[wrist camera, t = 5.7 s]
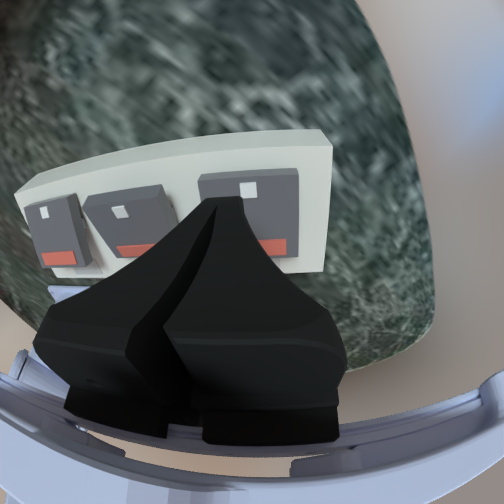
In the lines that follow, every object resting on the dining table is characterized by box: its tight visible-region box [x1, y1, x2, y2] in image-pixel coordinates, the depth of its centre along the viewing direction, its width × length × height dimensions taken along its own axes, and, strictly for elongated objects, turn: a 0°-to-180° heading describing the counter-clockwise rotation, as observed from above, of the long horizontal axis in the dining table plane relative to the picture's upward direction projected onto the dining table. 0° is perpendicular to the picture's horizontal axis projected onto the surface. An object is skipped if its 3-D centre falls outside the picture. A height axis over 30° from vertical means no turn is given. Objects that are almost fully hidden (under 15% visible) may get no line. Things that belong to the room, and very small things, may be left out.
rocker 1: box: [24, 193, 93, 268], centre depth 16 cm, size 5×5×1 cm
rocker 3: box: [197, 168, 299, 258], centre depth 15 cm, size 5×5×1 cm
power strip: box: [14, 129, 333, 278], centre depth 18 cm, size 9×23×4 cm, turn 95°
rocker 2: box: [82, 184, 178, 258], centre depth 16 cm, size 5×5×1 cm
